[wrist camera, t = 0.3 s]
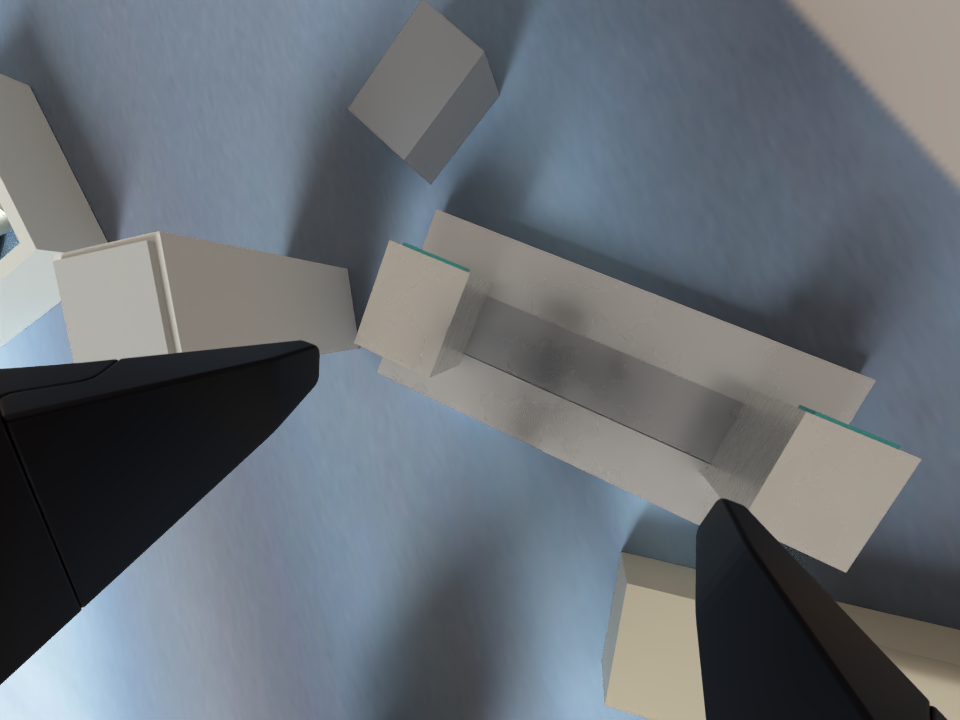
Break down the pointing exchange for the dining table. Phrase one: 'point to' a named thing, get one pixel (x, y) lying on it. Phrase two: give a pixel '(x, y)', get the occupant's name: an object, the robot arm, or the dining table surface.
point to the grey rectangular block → (427, 92)
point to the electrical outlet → (675, 652)
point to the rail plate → (634, 387)
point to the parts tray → (35, 210)
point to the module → (197, 298)
